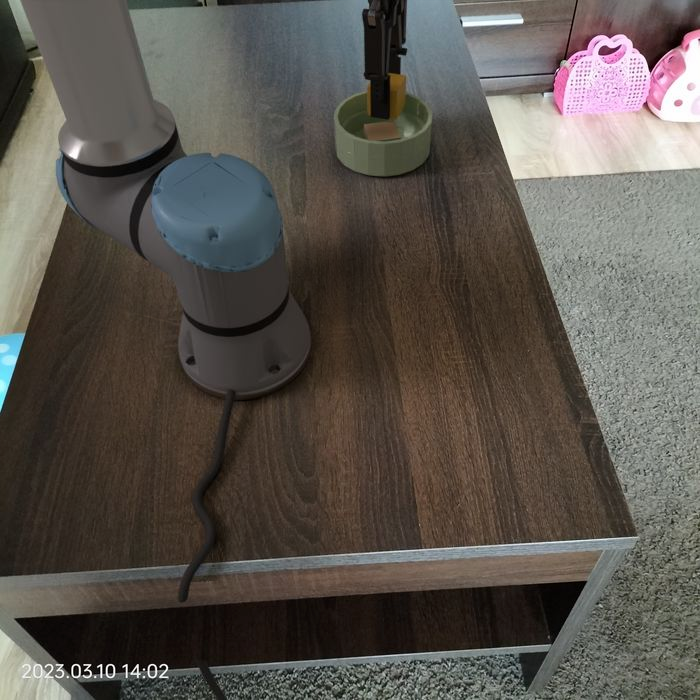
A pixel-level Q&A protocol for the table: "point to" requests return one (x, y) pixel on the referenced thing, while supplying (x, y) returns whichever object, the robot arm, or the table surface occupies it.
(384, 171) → the pale green pet bowl
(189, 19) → the table surface
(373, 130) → the beech block
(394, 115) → the mustard block
